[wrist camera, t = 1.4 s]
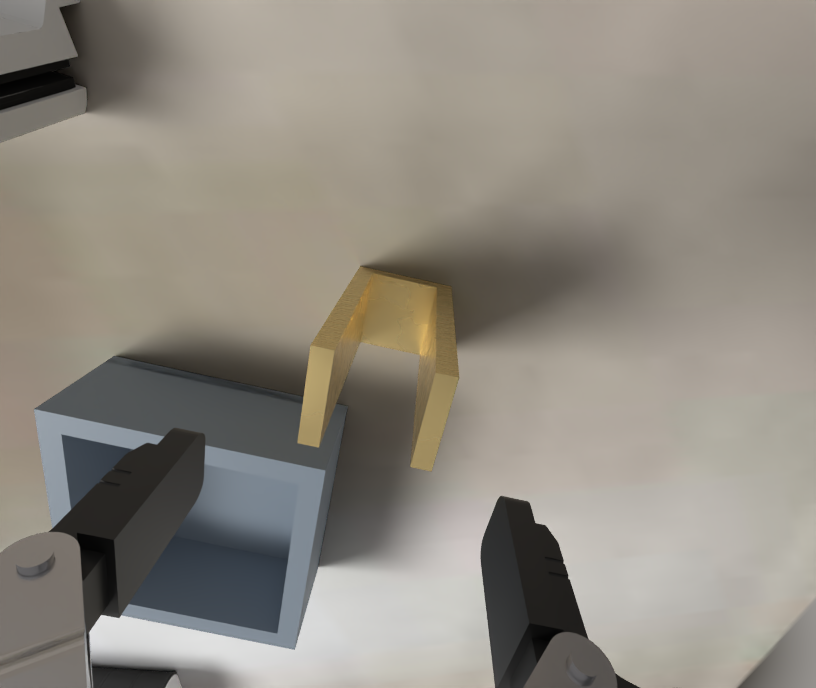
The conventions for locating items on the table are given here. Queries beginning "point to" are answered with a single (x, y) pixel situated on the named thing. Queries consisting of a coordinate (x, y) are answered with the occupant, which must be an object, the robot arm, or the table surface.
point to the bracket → (392, 328)
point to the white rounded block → (35, 67)
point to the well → (206, 492)
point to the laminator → (133, 678)
